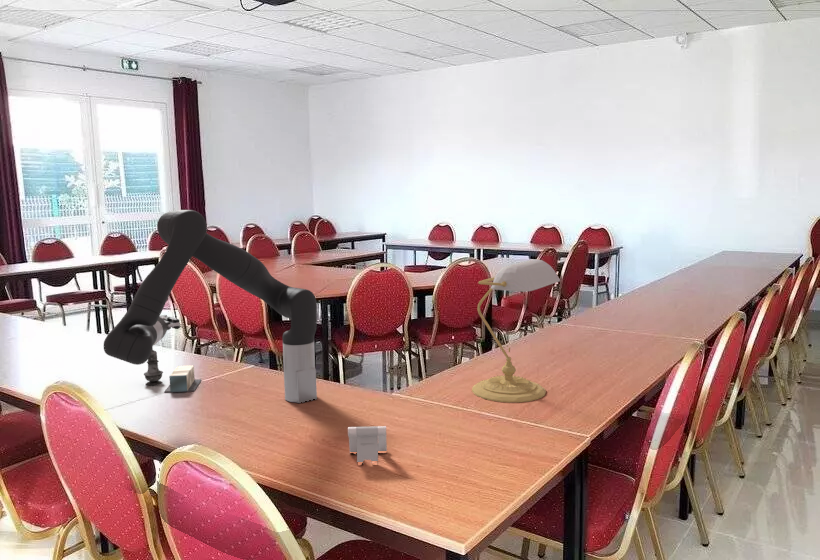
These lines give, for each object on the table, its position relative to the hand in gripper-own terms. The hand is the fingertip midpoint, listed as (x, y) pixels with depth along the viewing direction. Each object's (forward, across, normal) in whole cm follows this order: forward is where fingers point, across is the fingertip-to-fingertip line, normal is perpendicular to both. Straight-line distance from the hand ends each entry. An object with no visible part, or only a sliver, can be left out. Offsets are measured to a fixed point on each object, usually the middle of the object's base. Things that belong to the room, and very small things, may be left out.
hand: (164, 318), depth 186 cm
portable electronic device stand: (-47, -55, +26) cm, 77 cm away
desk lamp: (-3, -101, +27) cm, 104 cm away
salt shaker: (+24, +11, +26) cm, 37 cm away
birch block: (+12, 0, +23) cm, 26 cm away
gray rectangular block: (+19, 0, +26) cm, 32 cm away
